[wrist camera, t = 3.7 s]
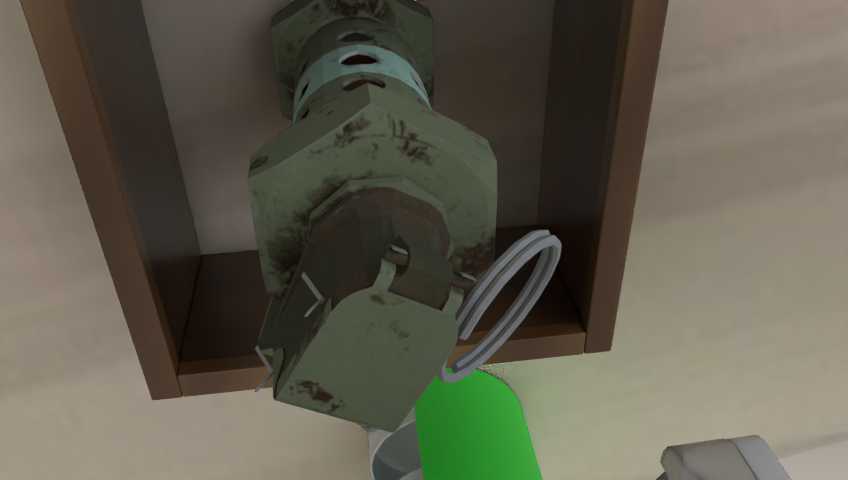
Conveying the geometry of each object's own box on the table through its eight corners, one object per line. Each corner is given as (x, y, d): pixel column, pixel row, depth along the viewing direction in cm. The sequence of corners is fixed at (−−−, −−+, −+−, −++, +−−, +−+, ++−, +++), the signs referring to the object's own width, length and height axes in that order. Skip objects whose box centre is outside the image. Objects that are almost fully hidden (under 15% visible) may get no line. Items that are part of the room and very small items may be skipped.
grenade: (228, 115, 26) (153, 435, 14) (305, -58, 23) (296, 154, 11) (405, 190, 29) (475, 514, 17) (494, 43, 26) (657, 304, 14)
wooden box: (596, -180, 22) (695, -157, 17) (555, 240, 31) (611, 351, 25) (69, -161, 21) (-24, -128, 15) (183, 274, 30) (151, 401, 24)
